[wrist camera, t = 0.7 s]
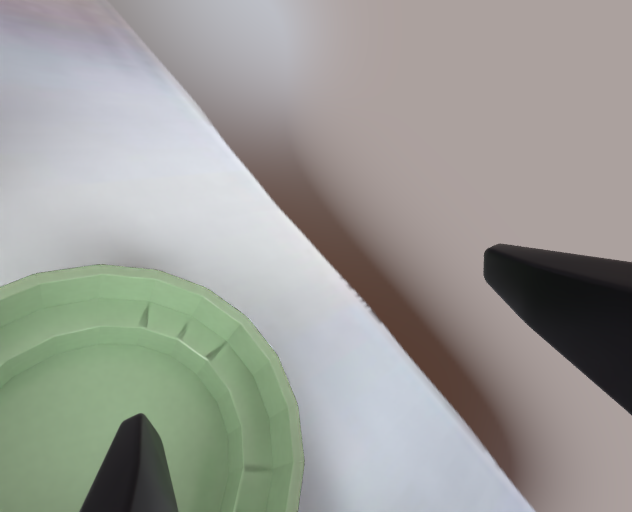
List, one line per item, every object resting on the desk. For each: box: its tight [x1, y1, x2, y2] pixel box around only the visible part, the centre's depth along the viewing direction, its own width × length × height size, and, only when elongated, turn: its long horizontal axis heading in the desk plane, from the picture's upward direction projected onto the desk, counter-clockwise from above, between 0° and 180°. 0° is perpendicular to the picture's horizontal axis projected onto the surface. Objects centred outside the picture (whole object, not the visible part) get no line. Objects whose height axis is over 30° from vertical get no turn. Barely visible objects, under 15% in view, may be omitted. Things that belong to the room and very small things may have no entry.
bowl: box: [0, 264, 305, 512], centre depth 15 cm, size 14×14×5 cm
